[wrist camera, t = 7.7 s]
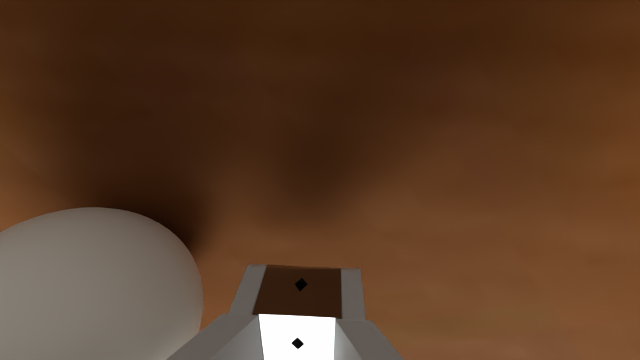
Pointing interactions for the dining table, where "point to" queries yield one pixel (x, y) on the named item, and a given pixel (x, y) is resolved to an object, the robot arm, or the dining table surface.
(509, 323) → the dining table surface
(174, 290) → the cue ball
